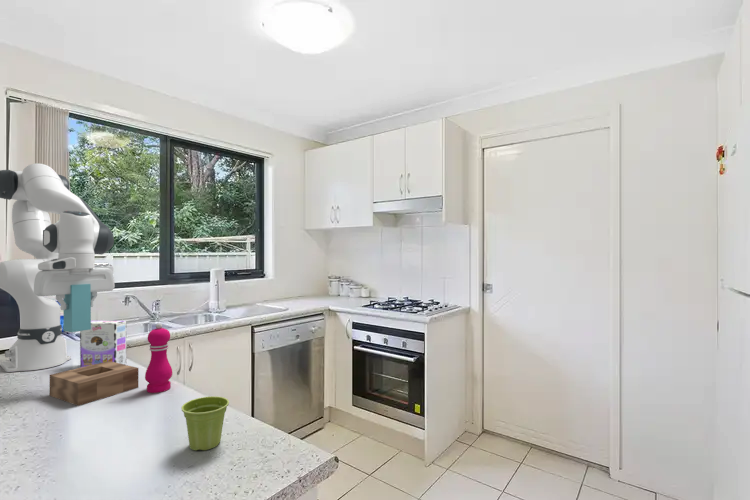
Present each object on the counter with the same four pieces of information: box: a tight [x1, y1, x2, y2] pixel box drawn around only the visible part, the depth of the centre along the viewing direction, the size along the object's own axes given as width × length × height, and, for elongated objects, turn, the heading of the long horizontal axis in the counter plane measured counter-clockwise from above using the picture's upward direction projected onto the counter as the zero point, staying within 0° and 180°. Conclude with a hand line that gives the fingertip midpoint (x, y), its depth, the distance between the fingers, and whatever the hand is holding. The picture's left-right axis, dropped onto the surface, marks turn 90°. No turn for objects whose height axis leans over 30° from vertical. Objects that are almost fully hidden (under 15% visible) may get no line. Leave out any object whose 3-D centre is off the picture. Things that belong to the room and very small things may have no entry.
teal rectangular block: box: [62, 284, 92, 333], centre depth 118 cm, size 5×5×14 cm
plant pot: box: [181, 395, 230, 451], centre depth 83 cm, size 9×9×9 cm
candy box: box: [79, 320, 127, 368], centre depth 140 cm, size 14×6×16 cm, turn 84°
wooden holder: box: [48, 361, 139, 407], centre depth 115 cm, size 16×16×6 cm
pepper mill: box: [144, 322, 173, 394], centre depth 117 cm, size 7×7×20 cm
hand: (77, 308), depth 118 cm, fingers closed on teal rectangular block, 5 cm apart
